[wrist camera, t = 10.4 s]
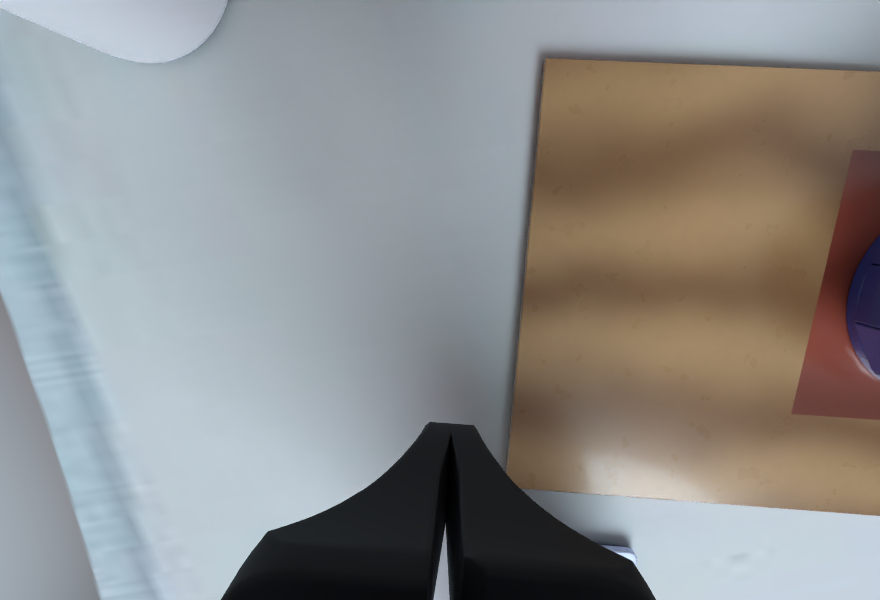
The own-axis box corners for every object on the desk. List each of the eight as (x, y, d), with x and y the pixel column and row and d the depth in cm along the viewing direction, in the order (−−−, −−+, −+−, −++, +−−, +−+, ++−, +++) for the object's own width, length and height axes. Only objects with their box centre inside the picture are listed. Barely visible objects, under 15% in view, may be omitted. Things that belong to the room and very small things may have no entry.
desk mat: (1011, 521, 22) (1021, 527, 21) (504, 483, 23) (505, 488, 22) (1170, 86, 18) (1186, 83, 17) (543, 60, 19) (545, 57, 18)
